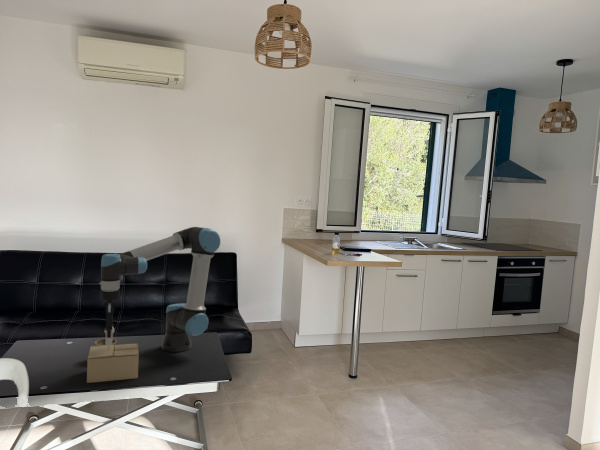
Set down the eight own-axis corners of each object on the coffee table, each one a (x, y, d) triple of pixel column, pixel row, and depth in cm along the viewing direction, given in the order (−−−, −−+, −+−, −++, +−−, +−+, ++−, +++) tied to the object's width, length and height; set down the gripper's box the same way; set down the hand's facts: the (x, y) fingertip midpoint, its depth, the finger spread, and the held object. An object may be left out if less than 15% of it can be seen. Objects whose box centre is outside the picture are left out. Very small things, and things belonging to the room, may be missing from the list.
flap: (114, 345, 198) (114, 321, 198) (113, 356, 186) (113, 330, 185) (90, 347, 195) (90, 323, 194) (88, 358, 182) (88, 331, 181)
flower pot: (108, 363, 204) (108, 345, 203) (90, 361, 206) (90, 343, 205) (120, 357, 213) (120, 339, 213) (102, 354, 215) (103, 337, 215)
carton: (137, 366, 203) (138, 343, 202) (137, 378, 190) (138, 353, 189) (89, 370, 195) (90, 346, 195) (86, 382, 182) (87, 356, 182)
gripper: (101, 286, 196) (100, 337, 197) (99, 294, 180) (98, 349, 182) (119, 285, 199) (118, 336, 200) (119, 293, 183) (117, 348, 184)
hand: (109, 342), depth 191 cm, fingers closed on flap, 4 cm apart
